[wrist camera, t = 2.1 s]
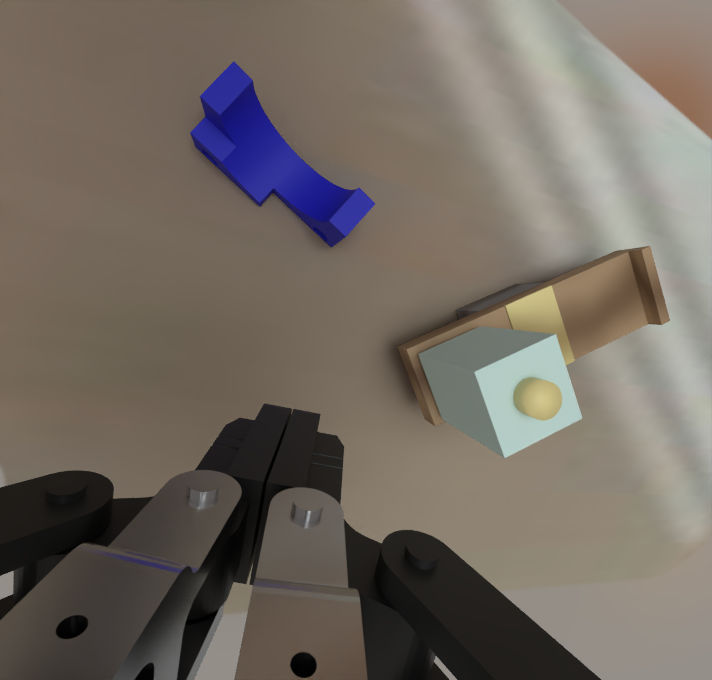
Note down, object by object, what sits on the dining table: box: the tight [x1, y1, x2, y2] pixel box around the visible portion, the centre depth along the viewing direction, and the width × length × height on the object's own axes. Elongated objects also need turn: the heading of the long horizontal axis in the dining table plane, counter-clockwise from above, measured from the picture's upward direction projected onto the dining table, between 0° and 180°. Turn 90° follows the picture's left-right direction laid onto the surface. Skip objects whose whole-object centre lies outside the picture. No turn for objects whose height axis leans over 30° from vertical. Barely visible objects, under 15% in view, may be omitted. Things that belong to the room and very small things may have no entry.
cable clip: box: [190, 62, 375, 247], centre depth 31 cm, size 12×4×6 cm, turn 48°
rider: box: [418, 326, 582, 458], centre depth 26 cm, size 5×5×9 cm
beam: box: [398, 246, 670, 426], centre depth 35 cm, size 6×20×7 cm, turn 112°
